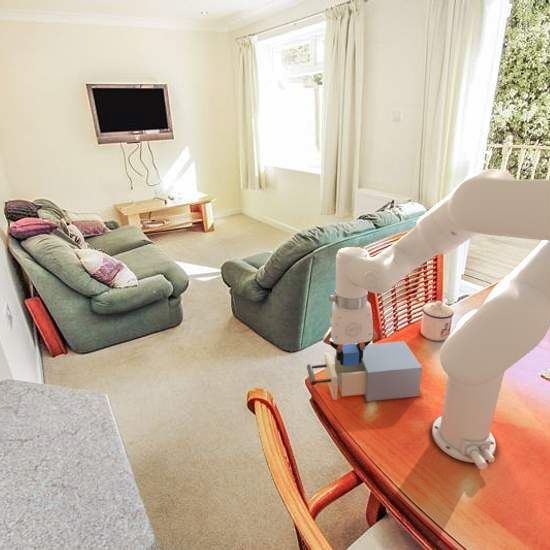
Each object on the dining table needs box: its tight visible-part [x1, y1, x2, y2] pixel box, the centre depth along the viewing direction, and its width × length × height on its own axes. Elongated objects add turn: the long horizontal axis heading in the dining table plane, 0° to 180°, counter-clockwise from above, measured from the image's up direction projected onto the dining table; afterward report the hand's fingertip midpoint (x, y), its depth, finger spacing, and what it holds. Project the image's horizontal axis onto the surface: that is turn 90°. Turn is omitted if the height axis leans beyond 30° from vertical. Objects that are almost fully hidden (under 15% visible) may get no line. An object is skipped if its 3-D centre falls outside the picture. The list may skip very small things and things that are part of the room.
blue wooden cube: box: [342, 343, 359, 366], centre depth 96 cm, size 4×4×4 cm
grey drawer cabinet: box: [361, 340, 423, 402], centre depth 99 cm, size 14×12×9 cm
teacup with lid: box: [420, 300, 455, 342], centre depth 119 cm, size 12×9×12 cm
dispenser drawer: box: [306, 351, 367, 401], centre depth 98 cm, size 18×10×7 cm, turn 94°
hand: (349, 360), depth 97 cm, fingers closed on blue wooden cube, 3 cm apart
